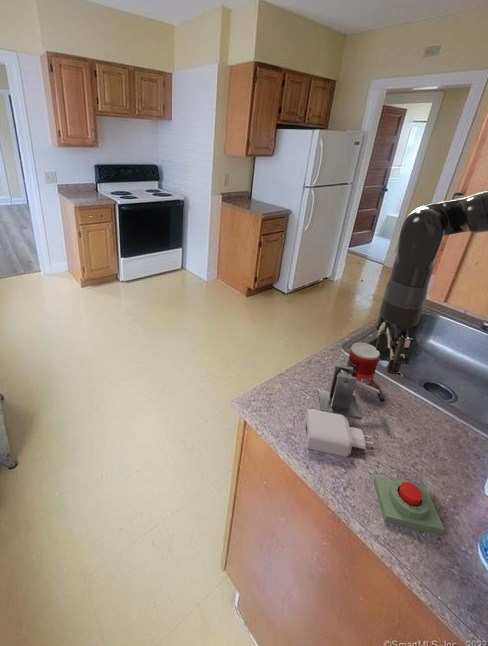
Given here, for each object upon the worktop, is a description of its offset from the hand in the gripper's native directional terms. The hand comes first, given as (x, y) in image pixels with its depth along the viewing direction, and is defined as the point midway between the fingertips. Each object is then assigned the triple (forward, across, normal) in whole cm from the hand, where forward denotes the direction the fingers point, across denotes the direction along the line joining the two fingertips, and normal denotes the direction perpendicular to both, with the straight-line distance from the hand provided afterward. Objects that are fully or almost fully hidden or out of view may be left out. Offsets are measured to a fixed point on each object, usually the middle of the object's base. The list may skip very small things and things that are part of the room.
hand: (385, 360), depth 75 cm
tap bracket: (+21, +6, +6) cm, 22 cm away
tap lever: (+13, +5, +2) cm, 15 cm away
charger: (+21, -6, +8) cm, 23 cm away
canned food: (+21, +18, -2) cm, 28 cm away
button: (+18, -20, -2) cm, 26 cm away
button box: (+21, -20, -2) cm, 29 cm away
